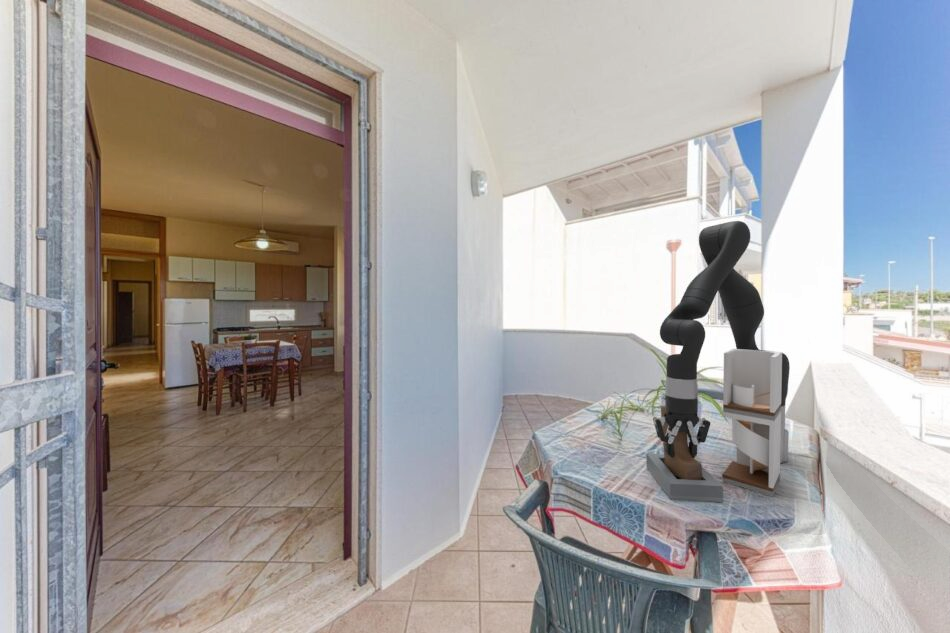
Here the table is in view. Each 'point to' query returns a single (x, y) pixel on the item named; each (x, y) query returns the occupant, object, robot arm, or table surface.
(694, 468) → the wooden block
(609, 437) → the table surface
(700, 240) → the robot arm
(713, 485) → the grey tray
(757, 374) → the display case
